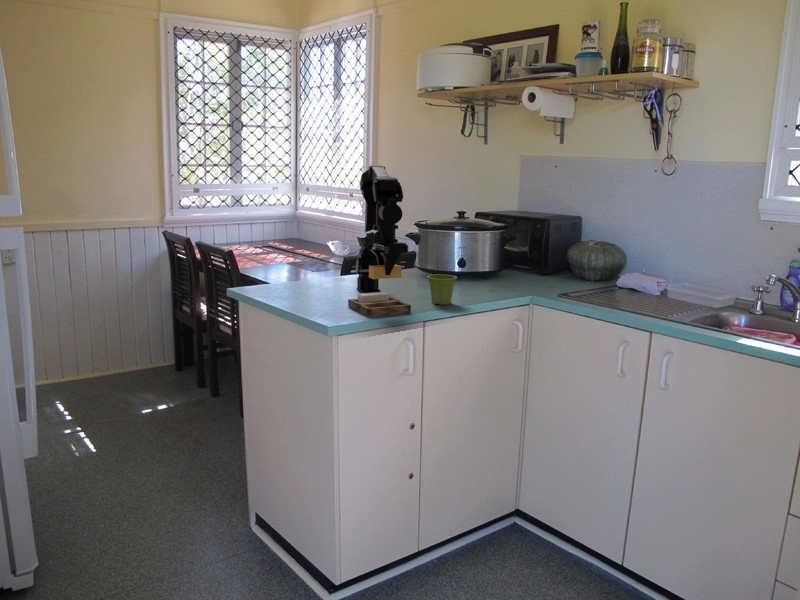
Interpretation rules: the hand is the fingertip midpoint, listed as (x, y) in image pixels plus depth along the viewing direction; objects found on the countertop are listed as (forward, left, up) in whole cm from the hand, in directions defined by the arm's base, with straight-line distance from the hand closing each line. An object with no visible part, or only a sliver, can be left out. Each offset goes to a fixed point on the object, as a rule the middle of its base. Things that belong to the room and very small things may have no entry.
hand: (385, 274), depth 198 cm
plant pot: (-23, -4, -12) cm, 26 cm away
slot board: (0, -3, -12) cm, 12 cm away
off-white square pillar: (0, -7, -11) cm, 13 cm away
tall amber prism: (0, 0, -1) cm, 1 cm away
